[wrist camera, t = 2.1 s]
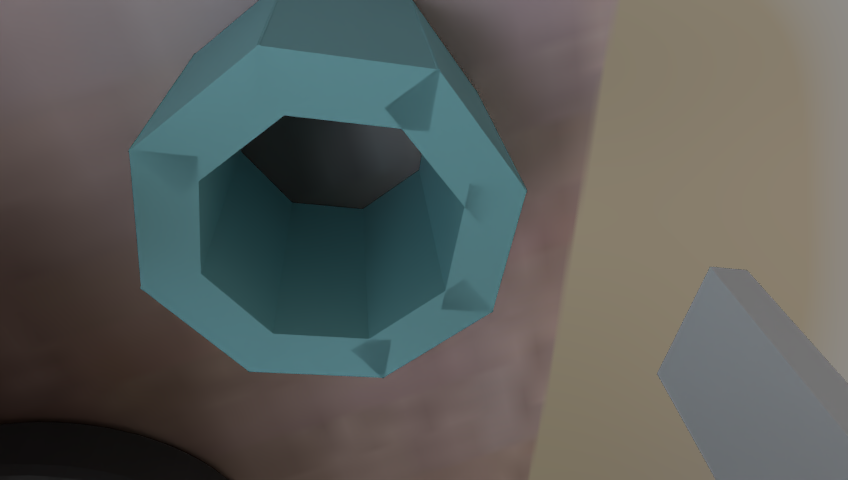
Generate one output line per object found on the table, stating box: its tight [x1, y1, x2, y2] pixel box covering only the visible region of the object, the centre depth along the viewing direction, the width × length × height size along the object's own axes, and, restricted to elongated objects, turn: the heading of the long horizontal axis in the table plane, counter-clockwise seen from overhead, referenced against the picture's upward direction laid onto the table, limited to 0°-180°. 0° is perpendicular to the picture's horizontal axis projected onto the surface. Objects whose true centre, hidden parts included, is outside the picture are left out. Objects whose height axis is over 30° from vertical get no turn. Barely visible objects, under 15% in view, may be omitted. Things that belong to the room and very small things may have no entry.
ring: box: [128, 0, 527, 378], centre depth 15 cm, size 8×8×6 cm
